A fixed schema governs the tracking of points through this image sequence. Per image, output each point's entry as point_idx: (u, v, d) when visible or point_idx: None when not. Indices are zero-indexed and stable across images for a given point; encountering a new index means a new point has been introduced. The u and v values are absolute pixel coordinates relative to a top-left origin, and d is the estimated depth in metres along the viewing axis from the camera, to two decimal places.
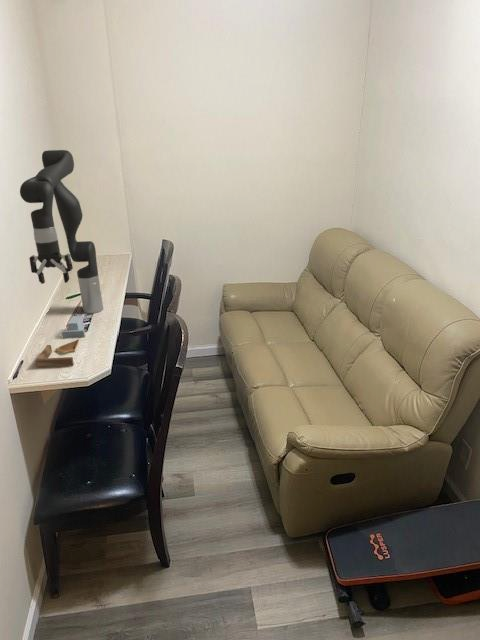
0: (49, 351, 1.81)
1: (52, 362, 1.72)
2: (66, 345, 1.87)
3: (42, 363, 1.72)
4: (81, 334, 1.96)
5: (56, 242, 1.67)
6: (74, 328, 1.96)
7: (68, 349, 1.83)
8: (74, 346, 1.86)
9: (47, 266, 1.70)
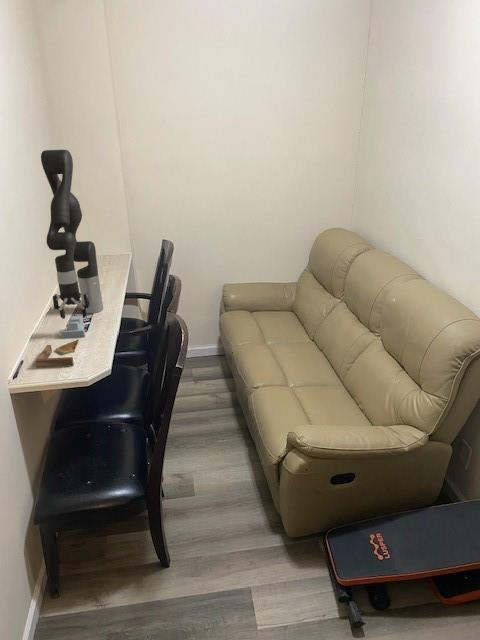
0: (49, 351, 1.81)
1: (52, 362, 1.72)
2: (66, 345, 1.87)
3: (42, 363, 1.72)
4: (81, 334, 1.96)
5: (76, 283, 1.92)
6: (74, 328, 1.96)
7: (68, 349, 1.83)
8: (74, 346, 1.86)
9: (68, 304, 1.95)
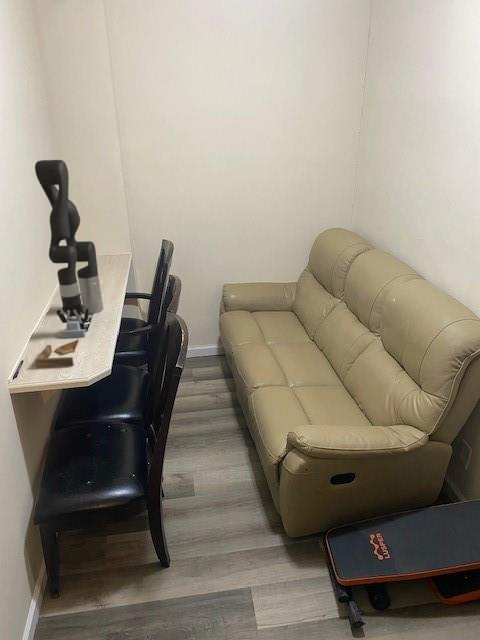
0: (49, 351, 1.81)
1: (52, 362, 1.72)
2: (66, 345, 1.87)
3: (42, 363, 1.72)
4: (81, 334, 1.96)
5: (78, 295, 1.94)
6: (74, 327, 1.96)
7: (68, 349, 1.83)
8: (74, 346, 1.86)
9: (70, 315, 1.97)
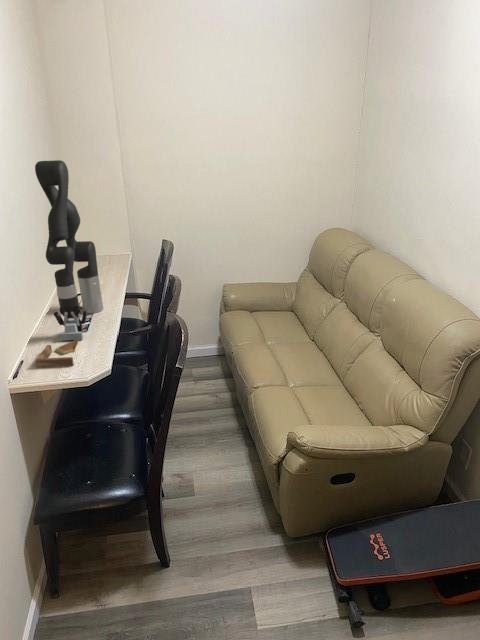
0: (49, 351, 1.81)
1: (52, 362, 1.72)
2: (66, 345, 1.87)
3: (42, 363, 1.72)
4: (79, 336, 1.93)
5: (76, 297, 1.91)
6: (71, 330, 1.93)
7: (68, 349, 1.84)
8: (74, 346, 1.86)
9: (68, 317, 1.94)
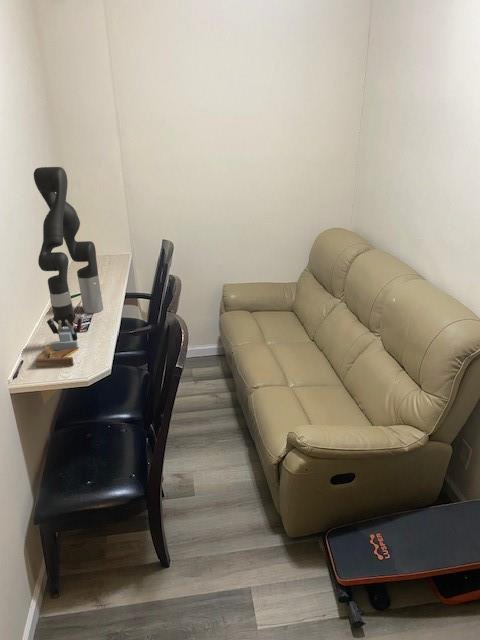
0: (49, 351, 1.81)
1: (52, 362, 1.72)
2: (61, 351, 1.82)
3: (42, 363, 1.72)
4: (74, 345, 1.85)
5: (70, 305, 1.83)
6: (66, 339, 1.85)
7: (57, 356, 1.78)
8: (65, 354, 1.80)
9: (62, 326, 1.86)
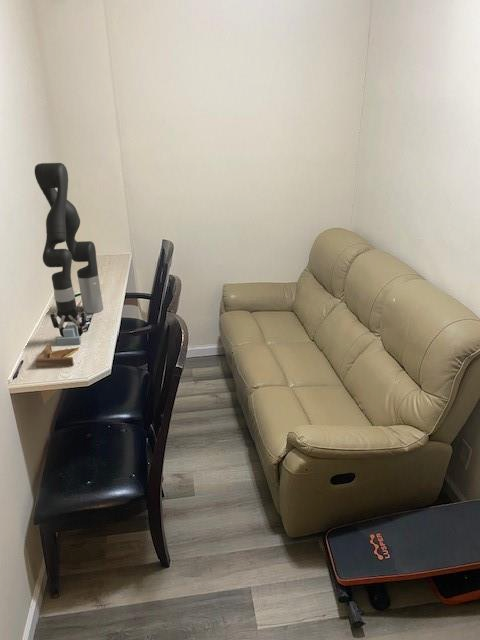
0: (49, 351, 1.81)
1: (52, 362, 1.72)
2: (61, 351, 1.82)
3: (42, 363, 1.72)
4: (77, 341, 1.90)
5: (74, 300, 1.88)
6: (69, 334, 1.90)
7: (56, 356, 1.78)
8: (65, 354, 1.80)
9: (65, 321, 1.91)
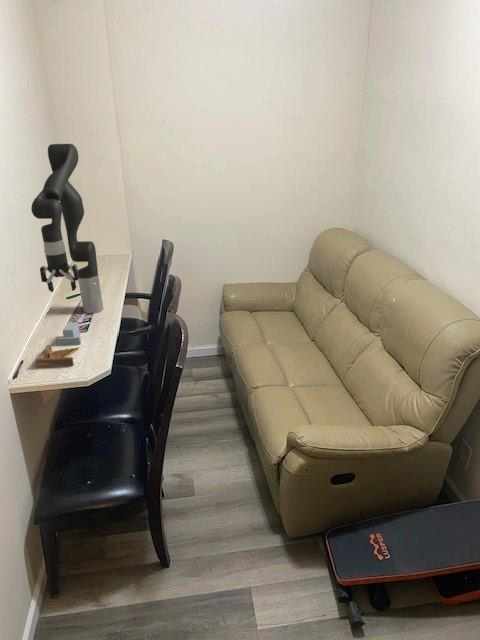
0: (49, 351, 1.81)
1: (52, 362, 1.72)
2: (61, 351, 1.82)
3: (42, 363, 1.72)
4: (77, 341, 1.90)
5: (64, 254, 1.82)
6: (69, 334, 1.90)
7: (56, 356, 1.78)
8: (65, 354, 1.80)
9: (56, 276, 1.85)
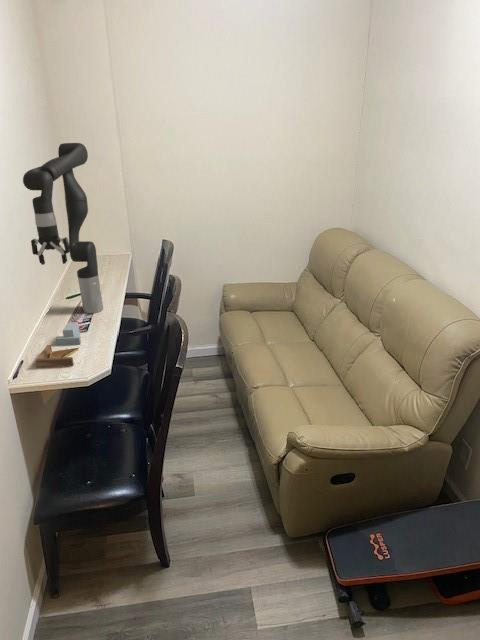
0: (49, 351, 1.81)
1: (52, 362, 1.72)
2: (61, 351, 1.82)
3: (42, 363, 1.72)
4: (77, 341, 1.90)
5: (55, 226, 1.85)
6: (69, 334, 1.90)
7: (56, 356, 1.78)
8: (65, 354, 1.80)
9: (47, 248, 1.88)
